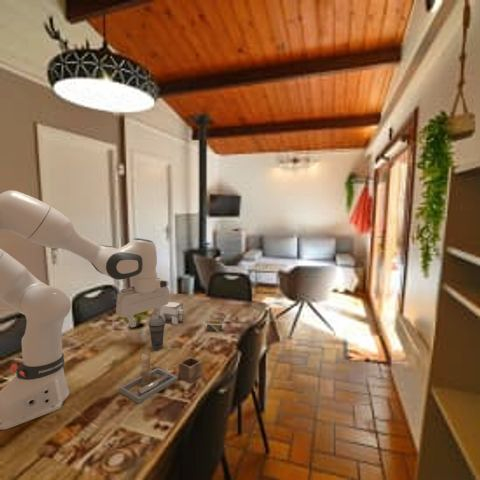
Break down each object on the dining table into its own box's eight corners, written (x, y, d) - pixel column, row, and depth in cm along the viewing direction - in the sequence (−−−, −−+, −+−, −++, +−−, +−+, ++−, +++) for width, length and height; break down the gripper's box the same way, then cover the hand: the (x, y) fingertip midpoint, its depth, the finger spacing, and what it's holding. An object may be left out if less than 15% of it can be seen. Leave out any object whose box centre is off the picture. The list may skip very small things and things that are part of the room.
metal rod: (142, 397, 105) (141, 389, 105) (138, 396, 106) (136, 389, 107) (170, 381, 115) (168, 374, 115) (165, 380, 116) (164, 374, 116)
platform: (229, 337, 157) (229, 325, 156) (194, 335, 159) (194, 323, 158) (232, 328, 168) (233, 316, 168) (200, 326, 170) (200, 314, 170)
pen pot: (190, 385, 114) (190, 368, 113) (178, 379, 118) (178, 362, 117) (202, 377, 119) (202, 361, 118) (190, 372, 123) (190, 356, 122)
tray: (139, 405, 102) (139, 399, 102) (119, 393, 109) (119, 387, 108) (178, 382, 116) (177, 376, 116) (158, 372, 122) (158, 367, 122)
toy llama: (180, 325, 170) (179, 289, 168) (152, 321, 175) (151, 286, 173) (186, 321, 177) (186, 286, 175) (159, 317, 182) (159, 283, 180)
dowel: (145, 387, 111) (144, 358, 110) (139, 384, 113) (139, 355, 112) (152, 383, 114) (151, 354, 112) (146, 381, 115) (146, 352, 114)
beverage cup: (161, 352, 139) (160, 308, 137) (146, 350, 140) (145, 307, 138) (168, 345, 146) (167, 303, 144) (153, 344, 147) (152, 302, 145)
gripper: (122, 292, 99) (123, 334, 101) (172, 280, 116) (172, 316, 117) (111, 288, 103) (112, 329, 105) (160, 278, 120) (161, 313, 121)
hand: (144, 322), depth 111 cm, fingers open, 8 cm apart
